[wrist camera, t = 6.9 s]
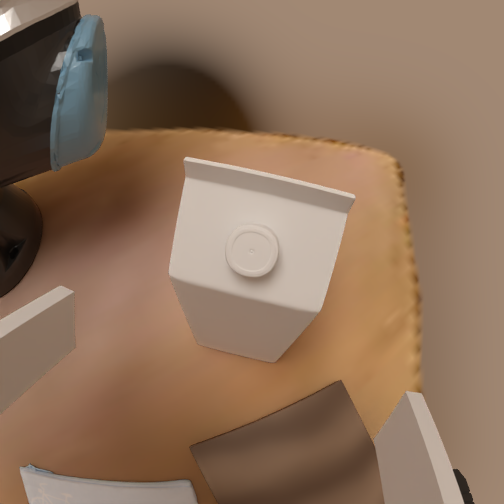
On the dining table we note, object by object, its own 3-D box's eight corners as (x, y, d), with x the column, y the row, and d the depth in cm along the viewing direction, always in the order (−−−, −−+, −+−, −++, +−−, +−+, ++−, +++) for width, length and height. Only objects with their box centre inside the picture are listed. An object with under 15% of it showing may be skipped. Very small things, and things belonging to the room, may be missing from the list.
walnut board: (191, 445, 23) (189, 447, 22) (335, 381, 26) (341, 379, 25) (258, 564, 17) (260, 570, 16) (392, 496, 21) (400, 499, 19)
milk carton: (217, 275, 31) (210, 110, 14) (289, 292, 30) (356, 141, 14) (196, 344, 27) (149, 228, 11) (274, 364, 27) (351, 276, 10)
